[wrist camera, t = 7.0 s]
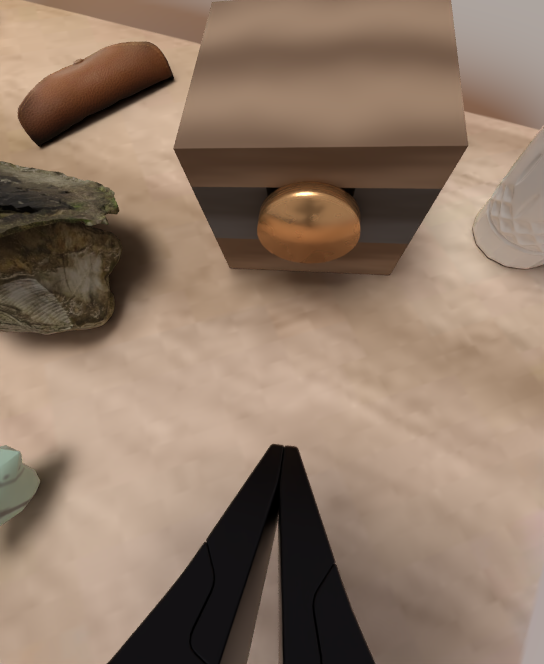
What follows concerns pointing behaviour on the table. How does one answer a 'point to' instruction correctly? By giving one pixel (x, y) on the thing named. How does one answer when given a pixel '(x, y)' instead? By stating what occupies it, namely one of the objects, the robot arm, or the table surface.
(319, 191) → the capped peg
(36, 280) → the hollow geode rock
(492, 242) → the white cup
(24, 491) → the pale green bulging piece
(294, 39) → the walnut block
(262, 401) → the table surface
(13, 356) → the table surface
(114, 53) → the sunglasses case
